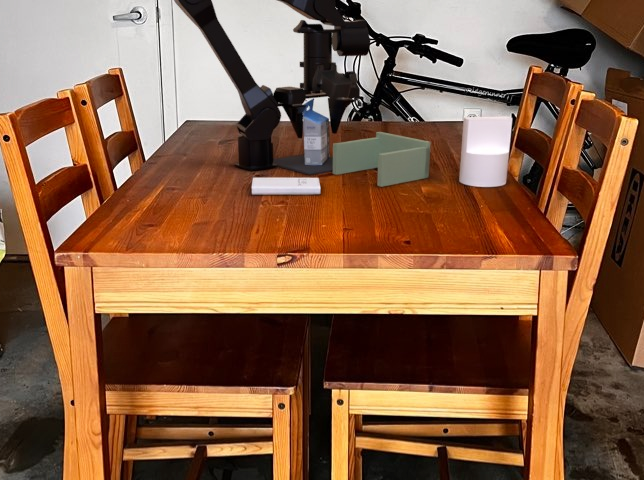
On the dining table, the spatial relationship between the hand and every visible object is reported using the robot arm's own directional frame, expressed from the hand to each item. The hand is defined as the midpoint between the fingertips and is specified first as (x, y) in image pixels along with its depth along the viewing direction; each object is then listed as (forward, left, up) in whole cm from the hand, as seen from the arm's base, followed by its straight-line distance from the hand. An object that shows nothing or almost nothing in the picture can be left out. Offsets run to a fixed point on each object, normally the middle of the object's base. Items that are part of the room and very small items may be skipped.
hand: (317, 135), depth 171 cm
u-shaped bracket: (+2, -17, -6) cm, 18 cm away
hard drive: (-20, -15, -6) cm, 25 cm away
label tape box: (0, 0, -6) cm, 6 cm away
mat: (-1, 0, -6) cm, 6 cm away
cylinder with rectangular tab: (+15, -33, -6) cm, 37 cm away
